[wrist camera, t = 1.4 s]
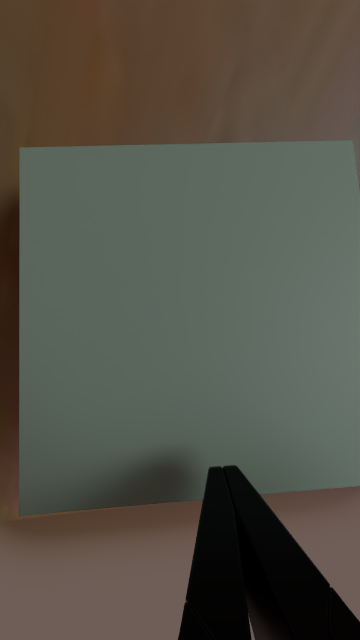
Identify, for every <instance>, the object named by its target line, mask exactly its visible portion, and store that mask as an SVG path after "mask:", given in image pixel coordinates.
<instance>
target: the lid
mask: <svg viewBox="0 0 360 640" xmlns="http://www.w3.org/2000/svg"><path fill="white" fill-rule="evenodd" d="M225 465H236V466H238V468H239V469H240V470H241V471H242V473H243V474H244V475H245V476H246V478H247V479H248V480H249V482H250V483H251V484H252V485H253V487H254V488H255V489H256V490H257V492H258V493H259V494H272V493H283V492H295V491H306V490H317V489H329V488H340V487H352V486H360V190H359V183H358V176H357V168H356V161H355V154H354V146H353V140H345V141H299V142H254V143H209V144H164V145H119V146H74V147H29V148H20V255H19V516H21V515H32V514H43V513H55V512H66V511H78V510H89V509H101V508H112V507H123V506H135V505H146V504H158V503H169V502H180V501H192V500H203V497H204V492H205V486H206V480H207V475H208V469H209V467H213V466H221V467H222V468H223V466H225Z"/></svg>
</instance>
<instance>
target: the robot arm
mask: <svg viewBox="0 0 360 640" xmlns="http://www.w3.org/2000/svg"><path fill="white" fill-rule="evenodd" d="M248 614H249V617H248ZM249 618H250V622H251V625H252V629H253V633H254V637H255V640H360V622H359V620H358V619H357V618H356V617H355V615H354V614H353V613H352V612H351V610H349V608H348V607H347V606H346V604H345V603H344V602H343V600H342V599H341V598H340V596H339V595H338V594H337V593H336V591H335V590H334V589H333V588H332V587H331V588H330V584H329V583H328V582H327V580H326V579H325V578H324V576H323V575H322V574H321V572H320V571H319V570H318V569H317V567H316V566H315V565H314V564H313V562H312V561H311V560H310V558H309V557H308V556H307V554H306V553H305V552H304V551H303V549H302V548H301V547H300V546H299V544H298V543H297V542H296V540H295V539H294V538H293V537H292V535H291V534H290V533H289V531H288V530H287V529H286V528H285V526H284V525H283V524H282V523H281V521H280V520H279V519H278V517H277V516H276V515H275V514H274V512H273V511H272V510H271V509H270V507H269V506H268V505H267V503H266V502H265V501H264V500H263V498H262V497H261V496H260V494H259V493H258V492H257V490H256V489H255V488H254V487H253V485H252V484H251V483H250V482H249V480H248V479H247V478H246V476H245V475H244V474H243V473H242V471H241V470H240V469H239V468H238V466H236V465H225V466H223V468H222V467H221V466H213V467H209V469H208V475H207V480H206V486H205V492H204V497H203V504H202V509H201V515H200V520H199V526H198V532H197V537H196V543H195V549H194V554H193V560H192V566H191V572H190V577H189V583H188V589H187V594H186V603H185V605H184V610H183V616H182V622H181V627H180V633H179V637H178V640H251V632H250V624H249Z"/></svg>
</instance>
